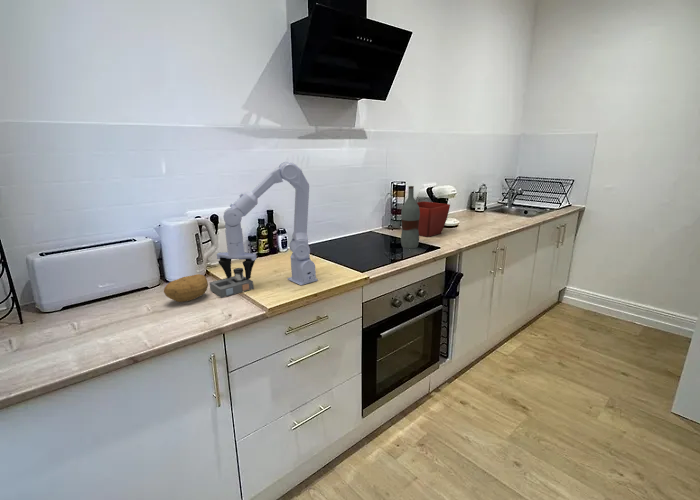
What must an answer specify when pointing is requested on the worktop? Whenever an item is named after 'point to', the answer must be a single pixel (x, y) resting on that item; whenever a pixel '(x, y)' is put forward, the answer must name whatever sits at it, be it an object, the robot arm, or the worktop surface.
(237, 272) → the jar
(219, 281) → the socket strip
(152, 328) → the worktop surface
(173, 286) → the potato
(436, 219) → the plant pot
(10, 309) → the worktop surface
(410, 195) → the bottle
